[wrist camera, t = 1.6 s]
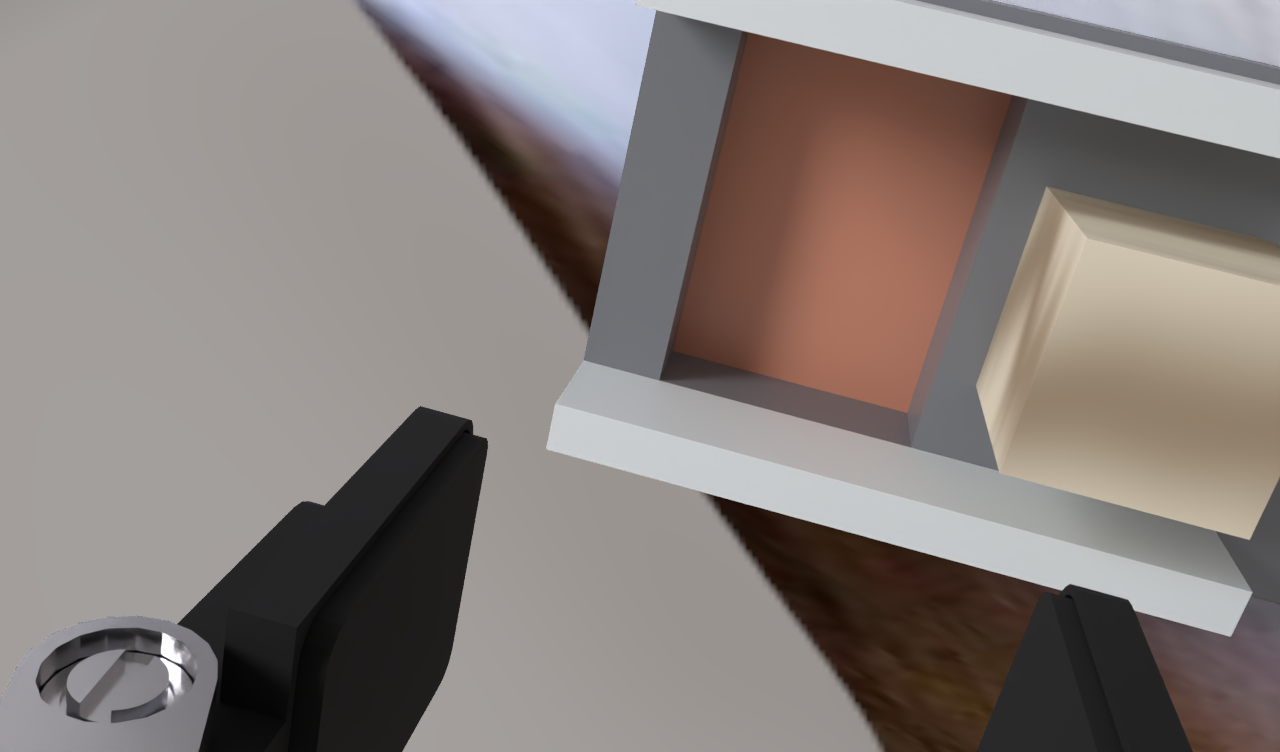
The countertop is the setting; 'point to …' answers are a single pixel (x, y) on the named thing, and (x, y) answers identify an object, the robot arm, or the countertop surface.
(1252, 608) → the countertop surface
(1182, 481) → the block
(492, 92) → the countertop surface
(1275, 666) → the countertop surface
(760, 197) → the gray tray
